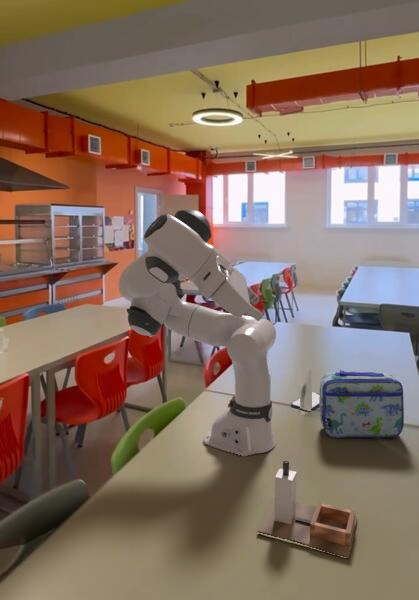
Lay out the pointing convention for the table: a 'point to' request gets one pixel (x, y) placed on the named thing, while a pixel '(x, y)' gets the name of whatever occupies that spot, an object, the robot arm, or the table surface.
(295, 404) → the phone case
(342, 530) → the board
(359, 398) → the lunch box
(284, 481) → the connector plug
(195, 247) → the robot arm
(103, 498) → the table surface
